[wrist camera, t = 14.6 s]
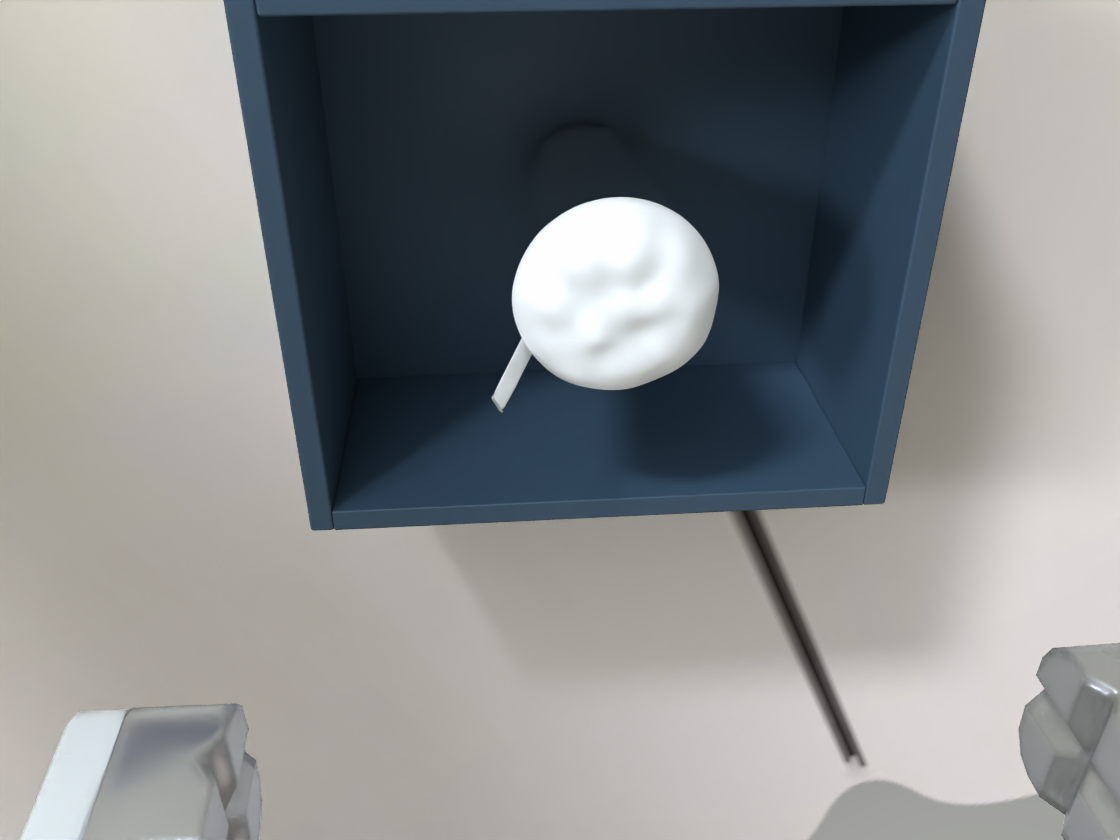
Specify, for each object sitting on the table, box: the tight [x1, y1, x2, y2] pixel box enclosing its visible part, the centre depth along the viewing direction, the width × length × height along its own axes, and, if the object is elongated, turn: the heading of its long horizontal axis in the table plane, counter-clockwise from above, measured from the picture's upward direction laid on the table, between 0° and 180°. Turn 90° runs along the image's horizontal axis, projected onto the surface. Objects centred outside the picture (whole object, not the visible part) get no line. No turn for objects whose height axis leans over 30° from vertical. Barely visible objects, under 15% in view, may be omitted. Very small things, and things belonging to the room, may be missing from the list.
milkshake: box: [492, 123, 719, 412], centre depth 25 cm, size 5×5×10 cm
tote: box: [224, 0, 986, 530], centre depth 27 cm, size 15×13×8 cm
